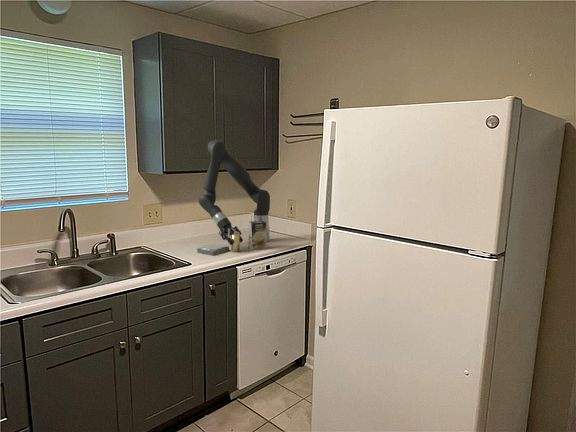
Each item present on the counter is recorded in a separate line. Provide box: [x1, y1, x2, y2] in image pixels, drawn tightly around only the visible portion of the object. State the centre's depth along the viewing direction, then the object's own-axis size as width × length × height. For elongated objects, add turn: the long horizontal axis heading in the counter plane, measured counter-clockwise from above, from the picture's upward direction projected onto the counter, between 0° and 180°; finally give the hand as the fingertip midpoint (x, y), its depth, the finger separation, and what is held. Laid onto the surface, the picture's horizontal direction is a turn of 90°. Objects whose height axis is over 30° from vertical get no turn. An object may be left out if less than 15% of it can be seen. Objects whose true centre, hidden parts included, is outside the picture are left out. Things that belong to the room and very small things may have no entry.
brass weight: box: [230, 234, 241, 253], centre depth 254 cm, size 5×5×10 cm
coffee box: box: [248, 220, 267, 251], centre depth 261 cm, size 9×6×16 cm
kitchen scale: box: [196, 243, 230, 256], centre depth 253 cm, size 14×12×3 cm
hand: (237, 242), depth 253 cm, fingers open, 8 cm apart
